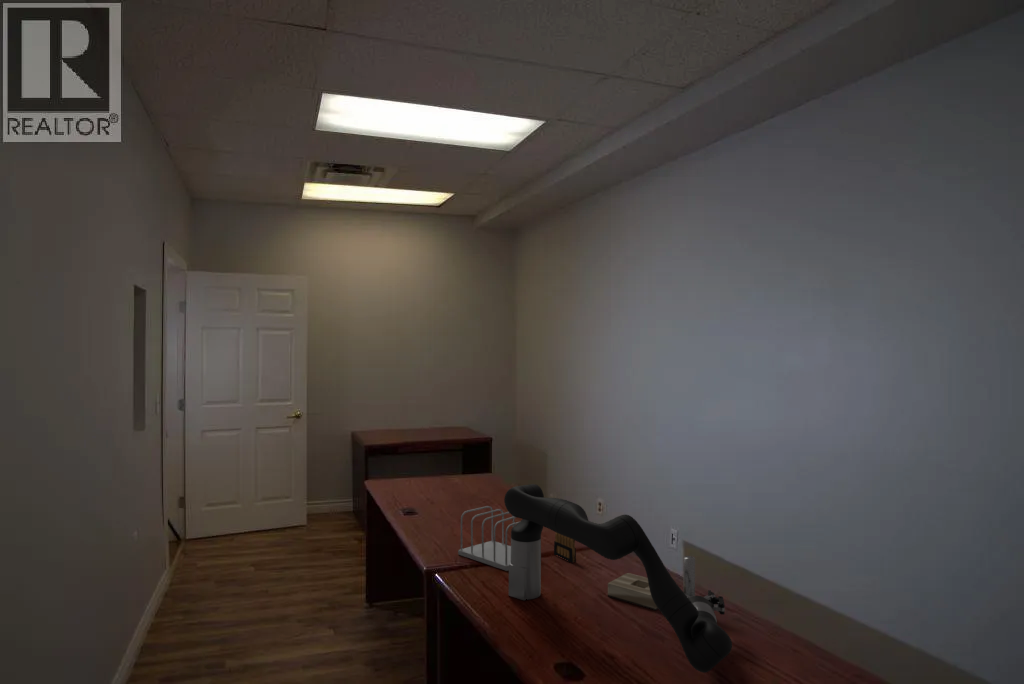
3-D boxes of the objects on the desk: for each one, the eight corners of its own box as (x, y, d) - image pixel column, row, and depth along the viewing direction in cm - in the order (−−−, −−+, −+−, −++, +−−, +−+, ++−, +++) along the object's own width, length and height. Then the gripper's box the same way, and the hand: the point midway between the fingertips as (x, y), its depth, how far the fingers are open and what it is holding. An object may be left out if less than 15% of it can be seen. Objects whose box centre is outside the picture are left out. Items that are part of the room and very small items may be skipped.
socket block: (655, 610, 188) (655, 596, 188) (607, 596, 198) (607, 583, 198) (674, 598, 197) (674, 584, 197) (627, 585, 207) (627, 572, 207)
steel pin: (691, 612, 186) (692, 560, 186) (681, 609, 188) (681, 557, 188) (696, 609, 189) (696, 557, 189) (686, 606, 191) (686, 555, 191)
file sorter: (541, 560, 231) (541, 516, 231) (506, 572, 218) (506, 526, 218) (492, 544, 248) (492, 503, 248) (457, 555, 236) (457, 512, 236)
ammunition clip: (553, 554, 236) (553, 521, 236) (557, 554, 237) (558, 521, 237) (571, 563, 227) (572, 529, 227) (576, 562, 228) (576, 528, 228)
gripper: (729, 604, 161) (720, 580, 177) (670, 600, 163) (666, 577, 179) (729, 634, 161) (720, 608, 177) (670, 630, 163) (666, 604, 179)
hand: (693, 592), depth 178 cm, fingers open, 8 cm apart
